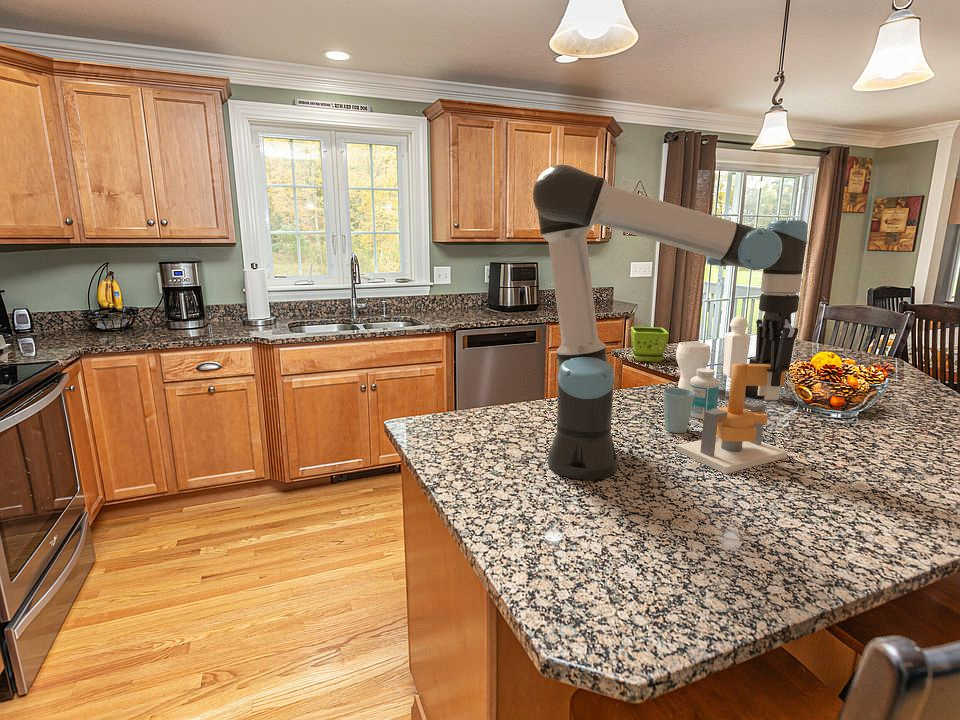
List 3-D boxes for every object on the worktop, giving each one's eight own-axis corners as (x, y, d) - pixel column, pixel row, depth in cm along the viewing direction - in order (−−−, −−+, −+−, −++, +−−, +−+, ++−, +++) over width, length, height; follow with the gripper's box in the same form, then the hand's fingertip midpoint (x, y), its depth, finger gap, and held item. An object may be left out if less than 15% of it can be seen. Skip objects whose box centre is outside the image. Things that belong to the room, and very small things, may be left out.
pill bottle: (711, 412, 154) (715, 367, 151) (719, 420, 147) (724, 373, 144) (684, 411, 155) (688, 366, 152) (691, 419, 148) (695, 372, 145)
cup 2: (678, 382, 187) (682, 340, 184) (710, 386, 181) (714, 343, 178) (669, 388, 179) (672, 345, 175) (702, 394, 173) (706, 348, 169)
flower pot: (631, 362, 217) (633, 331, 214) (628, 355, 231) (630, 326, 228) (667, 363, 215) (669, 332, 212) (661, 356, 228) (664, 327, 225)
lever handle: (783, 442, 119) (793, 369, 115) (708, 441, 120) (716, 368, 116) (766, 430, 127) (775, 361, 123) (696, 429, 128) (703, 360, 124)
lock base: (725, 474, 114) (730, 423, 111) (676, 451, 126) (679, 405, 124) (787, 457, 122) (793, 410, 120) (735, 437, 135) (739, 394, 132)
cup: (687, 425, 144) (690, 388, 141) (694, 435, 136) (698, 396, 134) (658, 424, 145) (660, 387, 142) (663, 434, 137) (666, 395, 135)
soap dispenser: (746, 377, 192) (753, 317, 188) (728, 377, 193) (734, 317, 188) (738, 373, 199) (744, 315, 194) (720, 373, 199) (726, 315, 194)
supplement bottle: (767, 394, 171) (771, 358, 169) (765, 400, 166) (769, 362, 163) (743, 391, 175) (747, 356, 172) (741, 396, 169) (745, 360, 167)
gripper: (818, 297, 108) (803, 407, 113) (778, 290, 123) (767, 388, 128) (781, 297, 108) (768, 407, 113) (745, 290, 123) (735, 387, 128)
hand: (767, 397), depth 121 cm, fingers closed on lever handle, 2 cm apart
